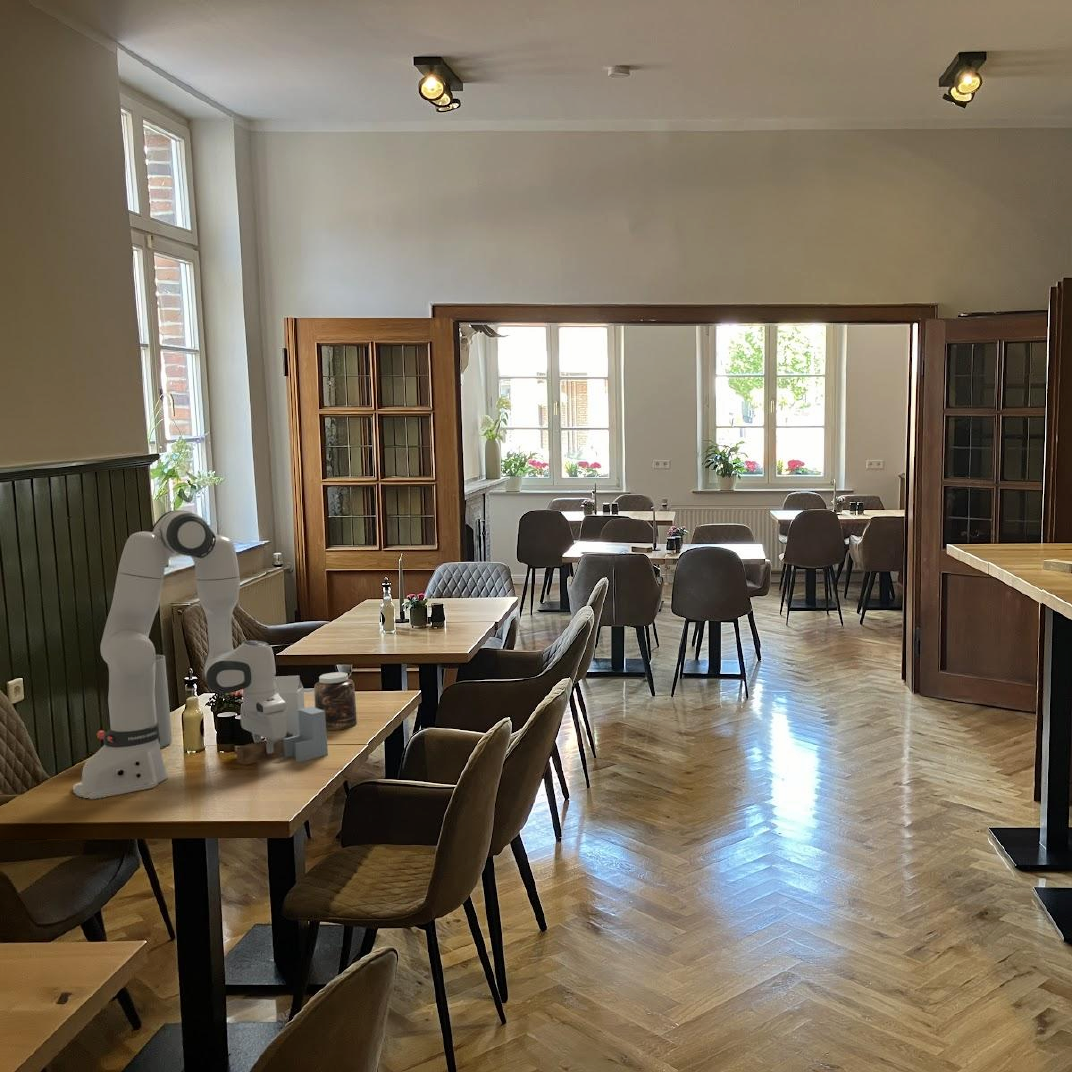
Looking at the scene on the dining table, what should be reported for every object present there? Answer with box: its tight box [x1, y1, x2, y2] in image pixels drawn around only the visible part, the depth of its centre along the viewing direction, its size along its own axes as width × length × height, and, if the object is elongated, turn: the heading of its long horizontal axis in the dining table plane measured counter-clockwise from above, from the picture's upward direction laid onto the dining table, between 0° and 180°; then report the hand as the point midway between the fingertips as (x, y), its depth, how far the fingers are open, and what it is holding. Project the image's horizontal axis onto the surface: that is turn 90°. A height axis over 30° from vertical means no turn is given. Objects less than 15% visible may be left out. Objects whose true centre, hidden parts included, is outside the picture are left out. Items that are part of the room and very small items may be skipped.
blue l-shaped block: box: [283, 706, 329, 763], centre depth 286 cm, size 9×7×12 cm
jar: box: [313, 671, 358, 731], centre depth 316 cm, size 12×12×15 cm
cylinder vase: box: [155, 654, 173, 749], centre depth 303 cm, size 12×12×25 cm
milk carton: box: [275, 675, 306, 736], centre depth 299 cm, size 7×7×19 cm
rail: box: [236, 732, 293, 765], centre depth 288 cm, size 15×4×5 cm, turn 131°
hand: (264, 750), depth 287 cm, fingers open, 4 cm apart
